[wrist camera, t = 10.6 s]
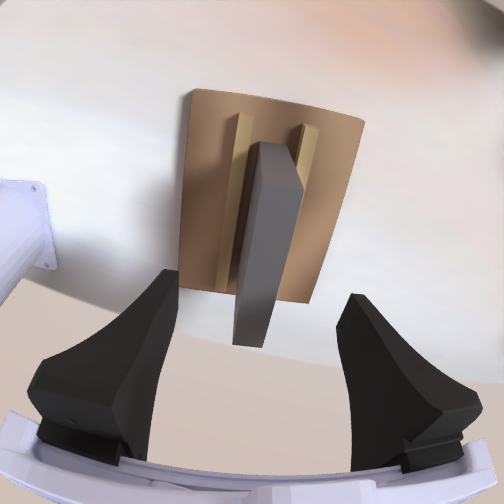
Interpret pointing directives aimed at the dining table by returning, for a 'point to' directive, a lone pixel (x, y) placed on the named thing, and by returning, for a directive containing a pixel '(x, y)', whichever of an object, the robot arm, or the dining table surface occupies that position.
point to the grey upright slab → (265, 241)
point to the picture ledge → (240, 182)
